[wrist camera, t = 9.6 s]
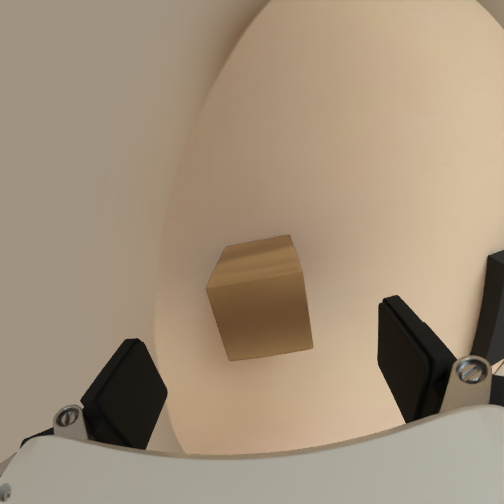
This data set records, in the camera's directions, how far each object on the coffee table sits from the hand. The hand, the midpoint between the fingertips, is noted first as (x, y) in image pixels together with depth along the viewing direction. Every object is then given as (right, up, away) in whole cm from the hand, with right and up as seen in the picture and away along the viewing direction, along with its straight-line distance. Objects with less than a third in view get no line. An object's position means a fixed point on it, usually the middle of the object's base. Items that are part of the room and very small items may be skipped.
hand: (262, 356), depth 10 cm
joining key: (0, +3, +7) cm, 8 cm away
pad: (+23, -1, +7) cm, 24 cm away
